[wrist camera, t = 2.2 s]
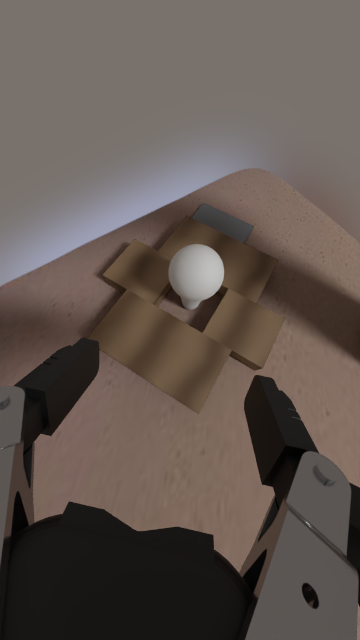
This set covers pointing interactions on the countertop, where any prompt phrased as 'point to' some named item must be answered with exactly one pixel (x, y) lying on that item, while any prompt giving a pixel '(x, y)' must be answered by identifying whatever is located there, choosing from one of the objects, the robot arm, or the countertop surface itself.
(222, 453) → the countertop surface
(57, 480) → the countertop surface
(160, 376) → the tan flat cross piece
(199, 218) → the slate mat
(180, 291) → the lightbulb
